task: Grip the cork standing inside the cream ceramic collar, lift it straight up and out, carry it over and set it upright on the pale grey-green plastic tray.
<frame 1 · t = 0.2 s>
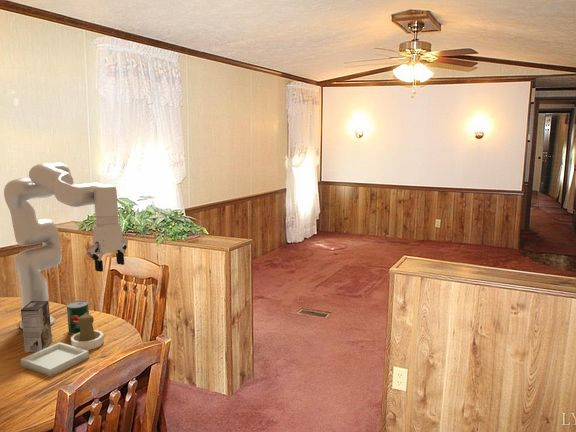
hand: (110, 267, 171), 30 cm above the table, tool pointing down, fingers open, 9 cm apart
tray: (55, 361, 165), on the table
cork: (87, 344, 179), resting in collar
canned tomato: (79, 330, 191), on the table
collar: (87, 343, 179), on the table
coffee box: (38, 346, 177), on the table
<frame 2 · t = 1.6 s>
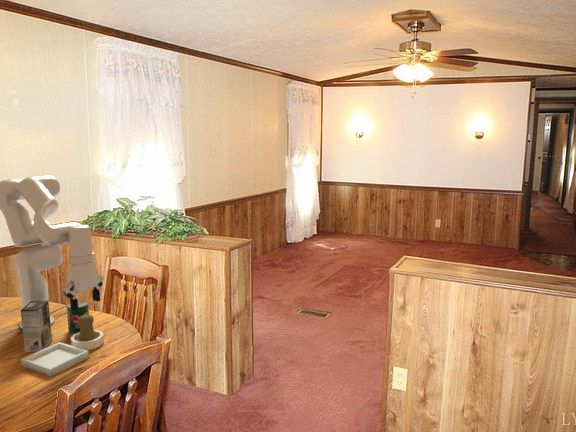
hand: (85, 304, 176), 15 cm above the table, tool pointing down, fingers open, 9 cm apart
nothing on the table moved.
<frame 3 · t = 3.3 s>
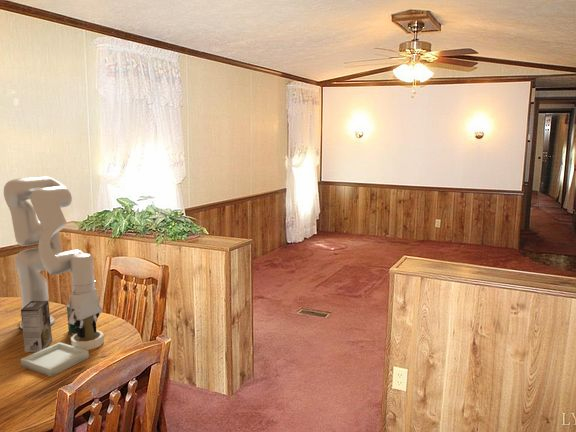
hand: (87, 333, 179), 4 cm above the table, tool pointing down, fingers closed on cork, 4 cm apart
cork: (87, 344, 179), resting in collar, touching gripper
everything else where it was.
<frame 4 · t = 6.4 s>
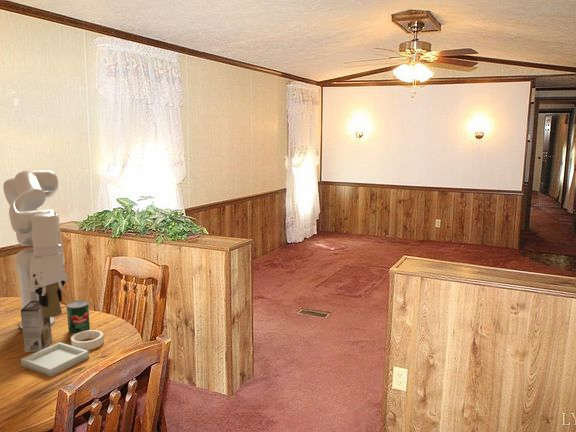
hand: (51, 302, 162), 21 cm above the table, tool pointing down, fingers closed on cork, 4 cm apart
cork: (52, 314, 162), point 17 cm above the table, touching gripper
everything else where it was.
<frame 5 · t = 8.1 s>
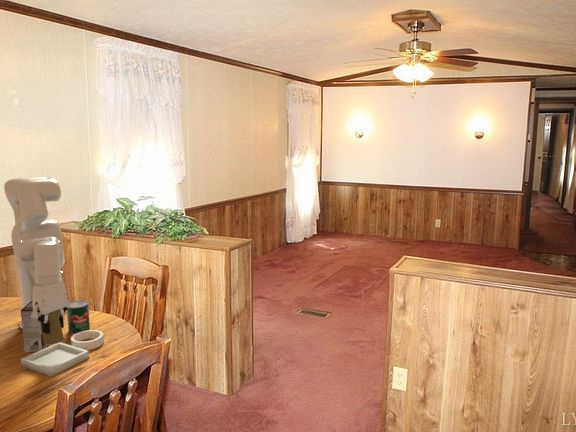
hand: (53, 329, 163), 12 cm above the table, tool pointing down, fingers closed on cork, 4 cm apart
cork: (54, 341, 164), point 8 cm above the table, touching gripper
everything else where it was.
when the fingers open (6 cm above the table, at t = 9.5 s): cork drops 1 cm, resting on tray.
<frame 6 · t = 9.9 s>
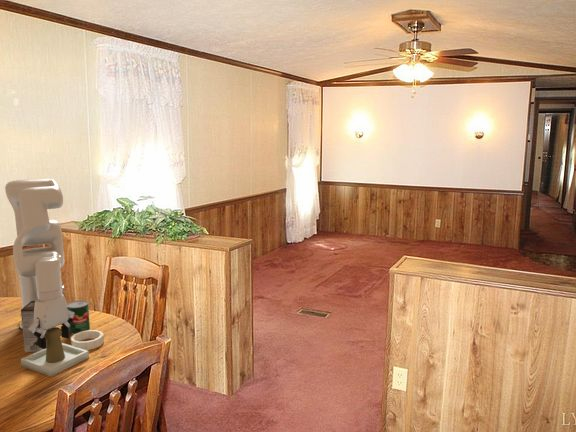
hand: (54, 342, 164), 7 cm above the table, tool pointing down, fingers open, 8 cm apart
cork: (55, 359, 165), point 1 cm above the table, touching tray
everything else where it was.
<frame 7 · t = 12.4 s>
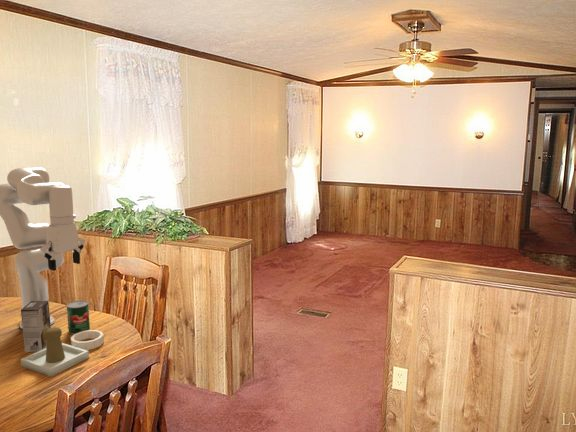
hand: (64, 266, 174), 30 cm above the table, tool pointing down, fingers open, 9 cm apart
nothing on the table moved.
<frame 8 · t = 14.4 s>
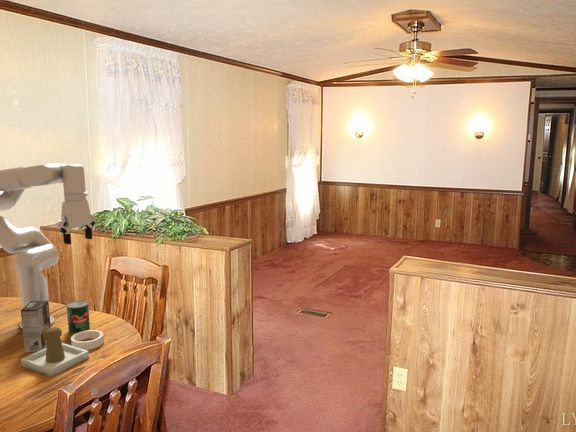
hand: (78, 241, 185), 36 cm above the table, tool pointing down, fingers open, 9 cm apart
nothing on the table moved.
at the end: cork inside the target area on the tray (0.1 cm from its centre), point 0.8 cm above the tray's base; cork tilted 0°; the gripper is holding nothing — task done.
